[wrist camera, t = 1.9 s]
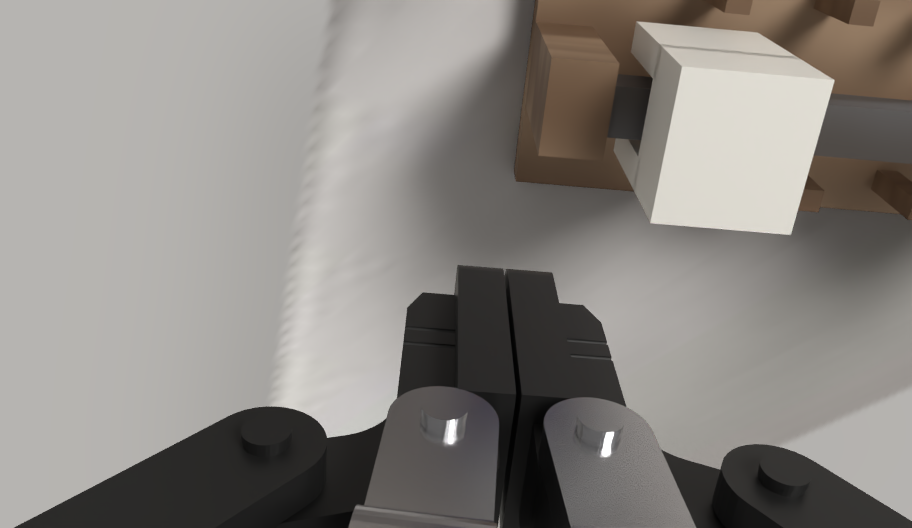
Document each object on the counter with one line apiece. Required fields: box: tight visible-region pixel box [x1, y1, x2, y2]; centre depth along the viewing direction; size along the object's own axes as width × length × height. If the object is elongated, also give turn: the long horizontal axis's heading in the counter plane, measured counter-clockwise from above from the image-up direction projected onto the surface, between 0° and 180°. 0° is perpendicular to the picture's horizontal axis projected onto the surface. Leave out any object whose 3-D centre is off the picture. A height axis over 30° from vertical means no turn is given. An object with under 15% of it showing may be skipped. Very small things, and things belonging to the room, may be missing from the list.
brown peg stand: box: [514, 0, 912, 220], centre depth 28 cm, size 9×20×9 cm, turn 85°
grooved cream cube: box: [614, 21, 835, 235], centre depth 26 cm, size 4×4×6 cm
